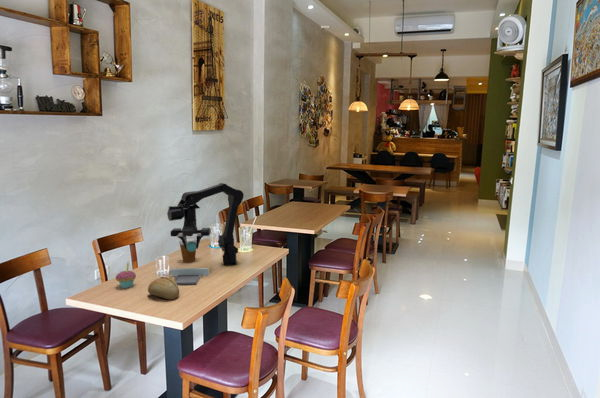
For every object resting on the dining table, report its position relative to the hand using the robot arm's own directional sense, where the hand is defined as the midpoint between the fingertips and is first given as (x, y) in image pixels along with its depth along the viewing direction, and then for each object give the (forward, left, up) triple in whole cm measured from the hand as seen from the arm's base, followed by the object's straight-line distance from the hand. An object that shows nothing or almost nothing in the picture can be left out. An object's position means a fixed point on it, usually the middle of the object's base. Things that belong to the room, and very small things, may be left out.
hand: (191, 248), depth 222 cm
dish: (0, +14, -12) cm, 18 cm away
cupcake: (+26, +19, -12) cm, 34 cm away
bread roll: (+5, +32, -12) cm, 35 cm away
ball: (0, 0, +1) cm, 1 cm away
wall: (0, +6, -12) cm, 13 cm away
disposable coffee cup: (+6, -18, -12) cm, 22 cm away
